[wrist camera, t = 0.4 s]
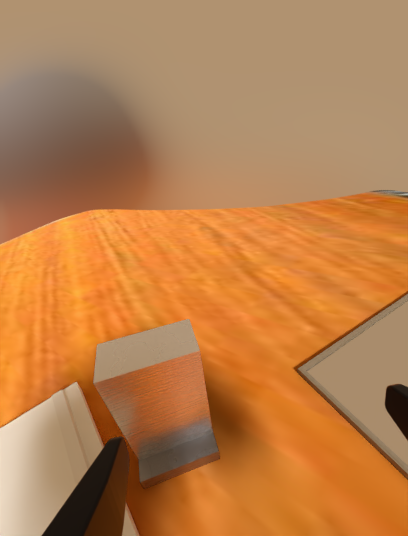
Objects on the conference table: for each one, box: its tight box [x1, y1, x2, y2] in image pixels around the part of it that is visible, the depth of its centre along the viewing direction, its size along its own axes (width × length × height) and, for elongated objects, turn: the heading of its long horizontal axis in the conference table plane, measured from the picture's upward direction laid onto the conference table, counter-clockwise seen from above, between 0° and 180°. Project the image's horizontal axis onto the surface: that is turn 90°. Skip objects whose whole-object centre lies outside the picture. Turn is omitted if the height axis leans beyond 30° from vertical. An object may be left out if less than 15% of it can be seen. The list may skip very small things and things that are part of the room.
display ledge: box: [0, 382, 139, 536], centre depth 18 cm, size 16×14×3 cm
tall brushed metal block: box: [93, 319, 220, 489], centre depth 19 cm, size 6×6×12 cm
